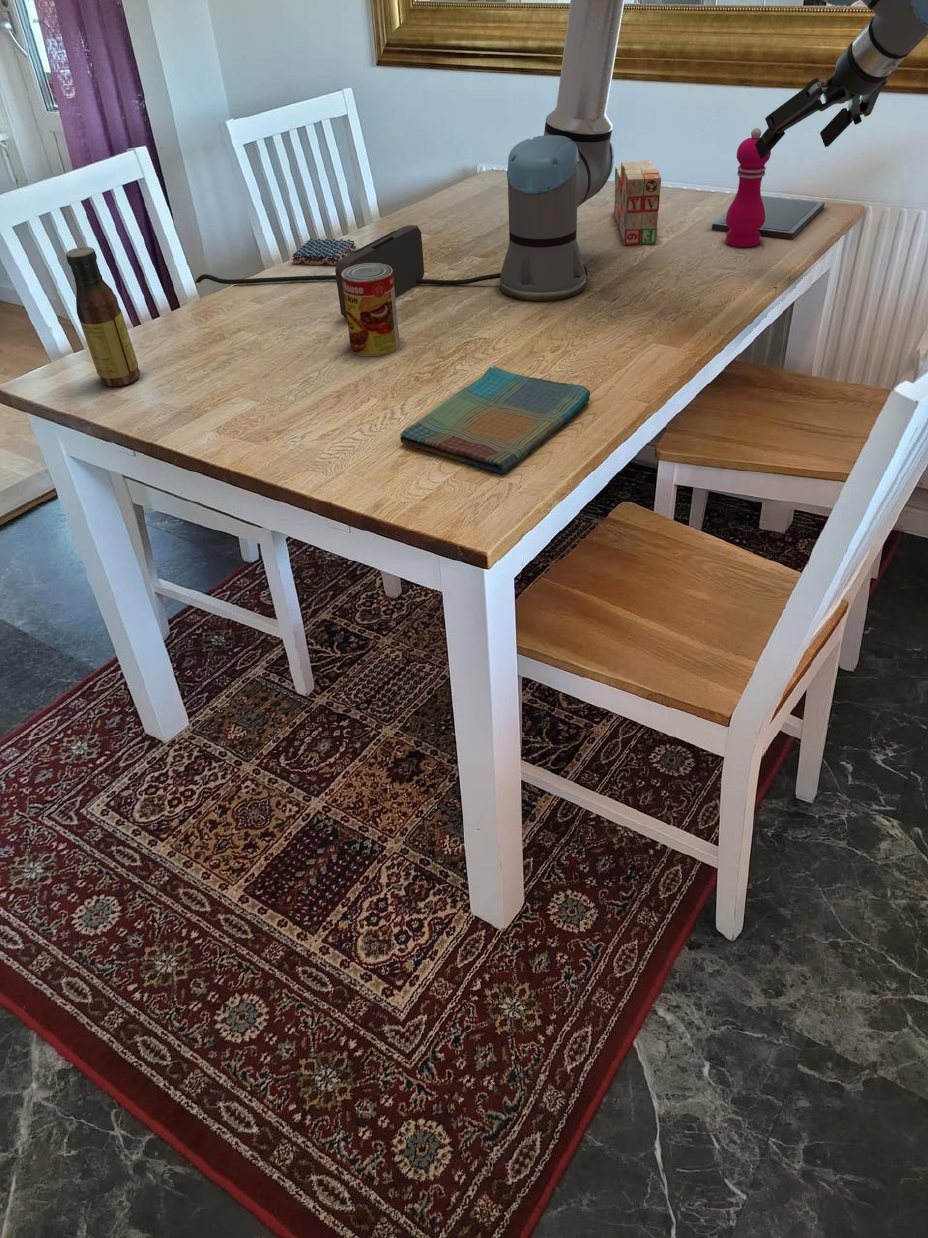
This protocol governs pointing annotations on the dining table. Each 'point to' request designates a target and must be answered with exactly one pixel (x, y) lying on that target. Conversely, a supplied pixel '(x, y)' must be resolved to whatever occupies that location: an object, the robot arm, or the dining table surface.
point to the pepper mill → (747, 196)
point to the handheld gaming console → (389, 259)
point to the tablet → (781, 217)
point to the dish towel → (496, 419)
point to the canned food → (371, 309)
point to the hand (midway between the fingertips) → (791, 145)
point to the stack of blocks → (637, 201)
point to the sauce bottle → (102, 321)
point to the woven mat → (323, 251)
